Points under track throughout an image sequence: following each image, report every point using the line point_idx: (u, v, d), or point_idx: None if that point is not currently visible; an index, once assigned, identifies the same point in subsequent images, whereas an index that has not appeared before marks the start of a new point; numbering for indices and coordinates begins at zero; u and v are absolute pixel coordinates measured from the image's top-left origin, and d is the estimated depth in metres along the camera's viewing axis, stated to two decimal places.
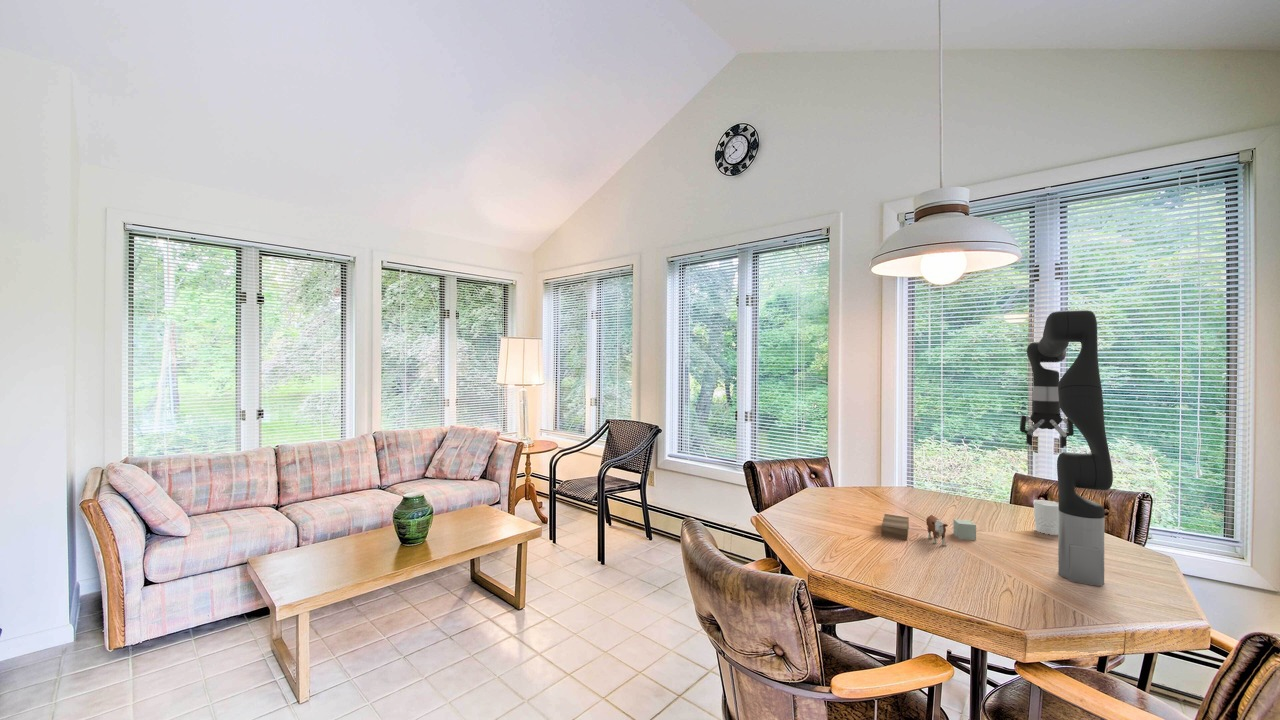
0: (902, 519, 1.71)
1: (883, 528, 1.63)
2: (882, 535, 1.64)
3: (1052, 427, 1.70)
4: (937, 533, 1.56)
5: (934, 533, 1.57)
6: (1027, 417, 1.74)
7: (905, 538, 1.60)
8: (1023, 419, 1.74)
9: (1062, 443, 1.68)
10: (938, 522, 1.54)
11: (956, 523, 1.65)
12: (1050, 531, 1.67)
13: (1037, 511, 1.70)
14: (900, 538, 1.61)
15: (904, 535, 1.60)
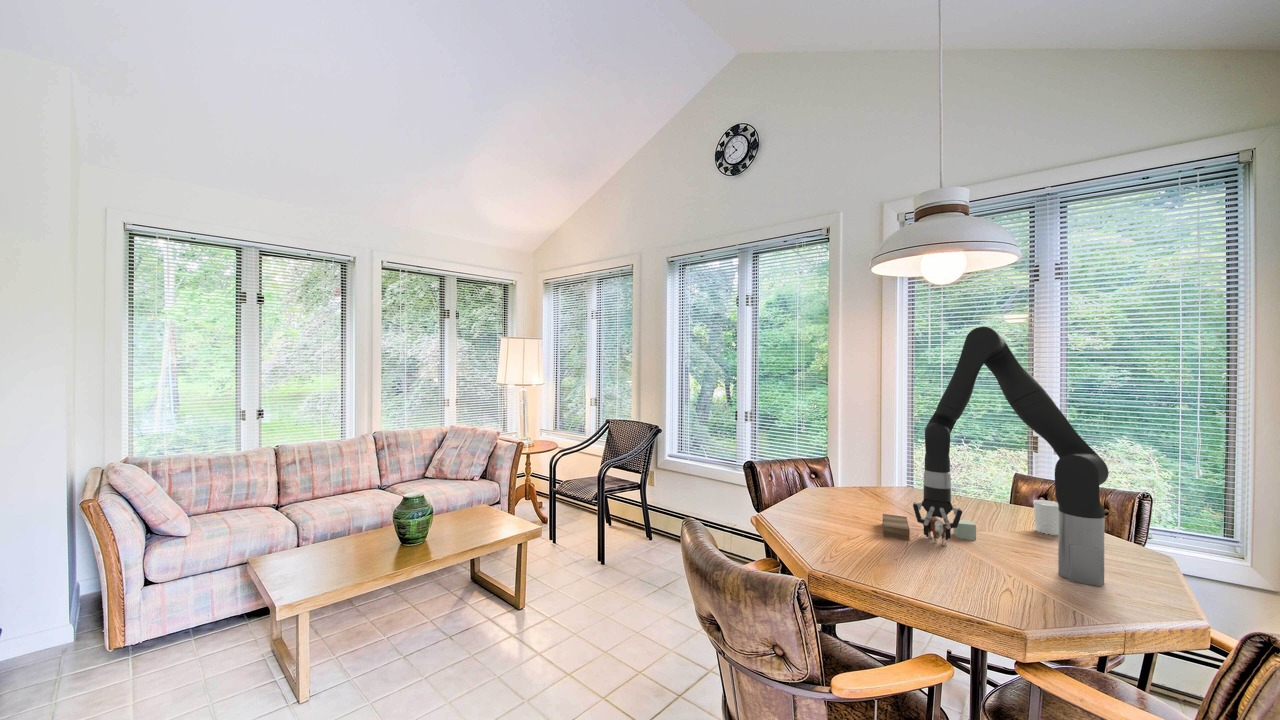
0: (901, 519, 1.71)
1: (885, 529, 1.63)
2: (884, 536, 1.63)
3: (940, 515, 1.58)
4: (937, 533, 1.56)
5: (934, 533, 1.57)
6: (918, 505, 1.61)
7: (907, 538, 1.60)
8: (915, 508, 1.61)
9: (946, 535, 1.57)
10: (938, 522, 1.54)
11: None
12: (1050, 531, 1.67)
13: (1037, 512, 1.70)
14: (902, 538, 1.61)
15: (906, 535, 1.60)
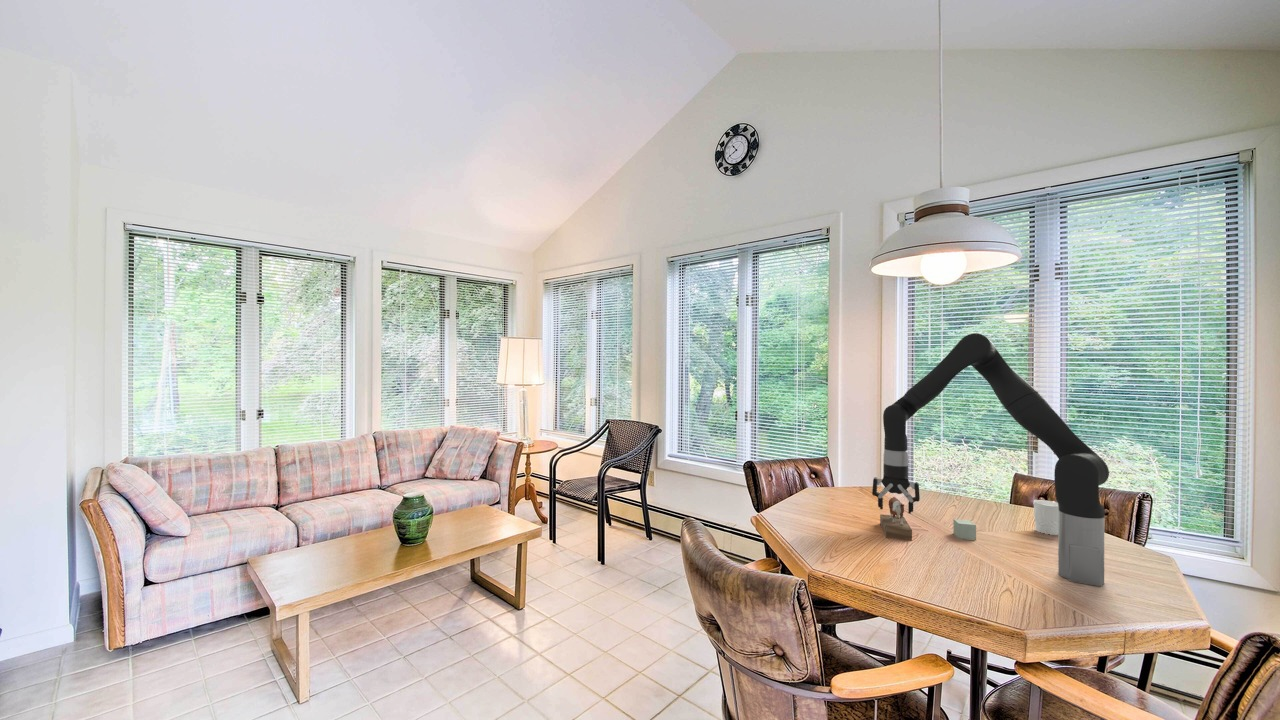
0: None
1: (888, 530, 1.62)
2: (887, 537, 1.62)
3: (900, 492, 1.67)
4: (895, 513, 1.66)
5: (893, 513, 1.66)
6: (878, 480, 1.71)
7: (910, 539, 1.60)
8: (874, 482, 1.71)
9: (909, 509, 1.65)
10: (896, 502, 1.64)
11: (956, 523, 1.65)
12: (1050, 531, 1.67)
13: (1037, 512, 1.70)
14: (905, 539, 1.61)
15: (909, 536, 1.60)
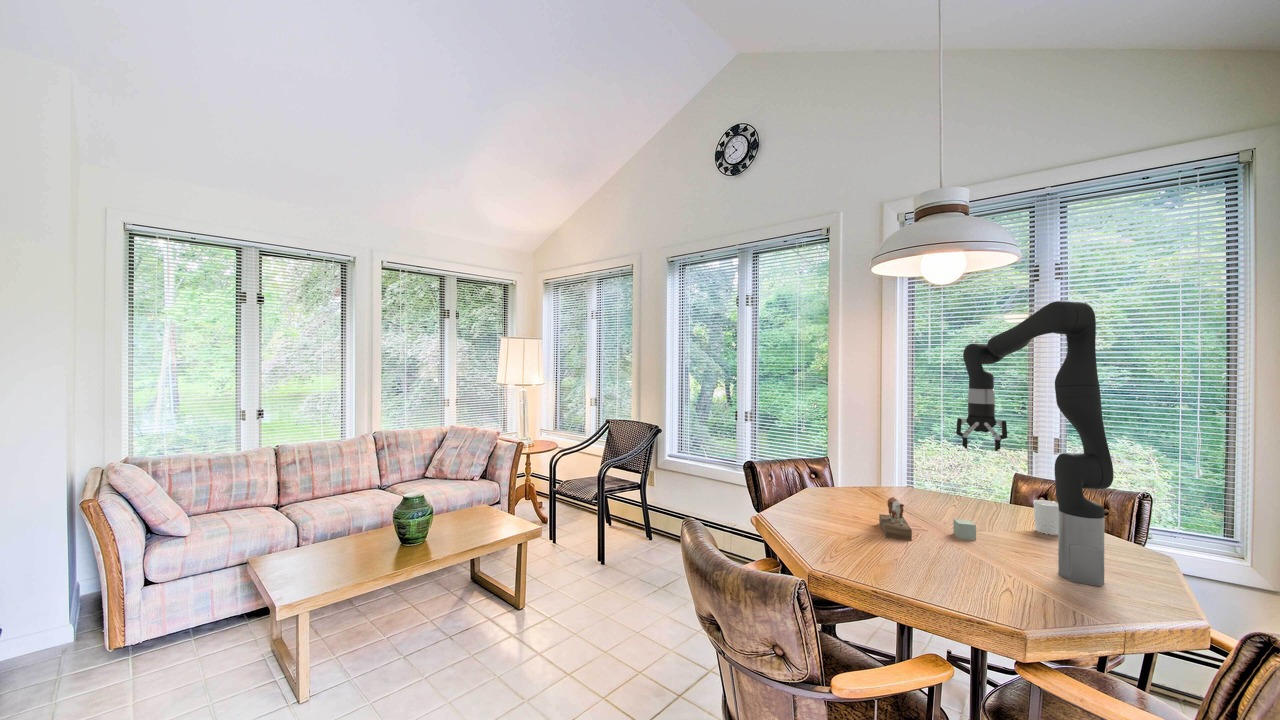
0: (899, 519, 1.71)
1: (888, 530, 1.62)
2: (887, 537, 1.62)
3: (987, 430, 1.67)
4: (895, 513, 1.65)
5: (892, 513, 1.66)
6: (963, 420, 1.71)
7: (910, 539, 1.60)
8: (959, 422, 1.71)
9: (996, 446, 1.66)
10: (895, 502, 1.63)
11: (956, 523, 1.65)
12: (1050, 531, 1.67)
13: (1037, 512, 1.70)
14: (905, 539, 1.61)
15: (909, 535, 1.60)
